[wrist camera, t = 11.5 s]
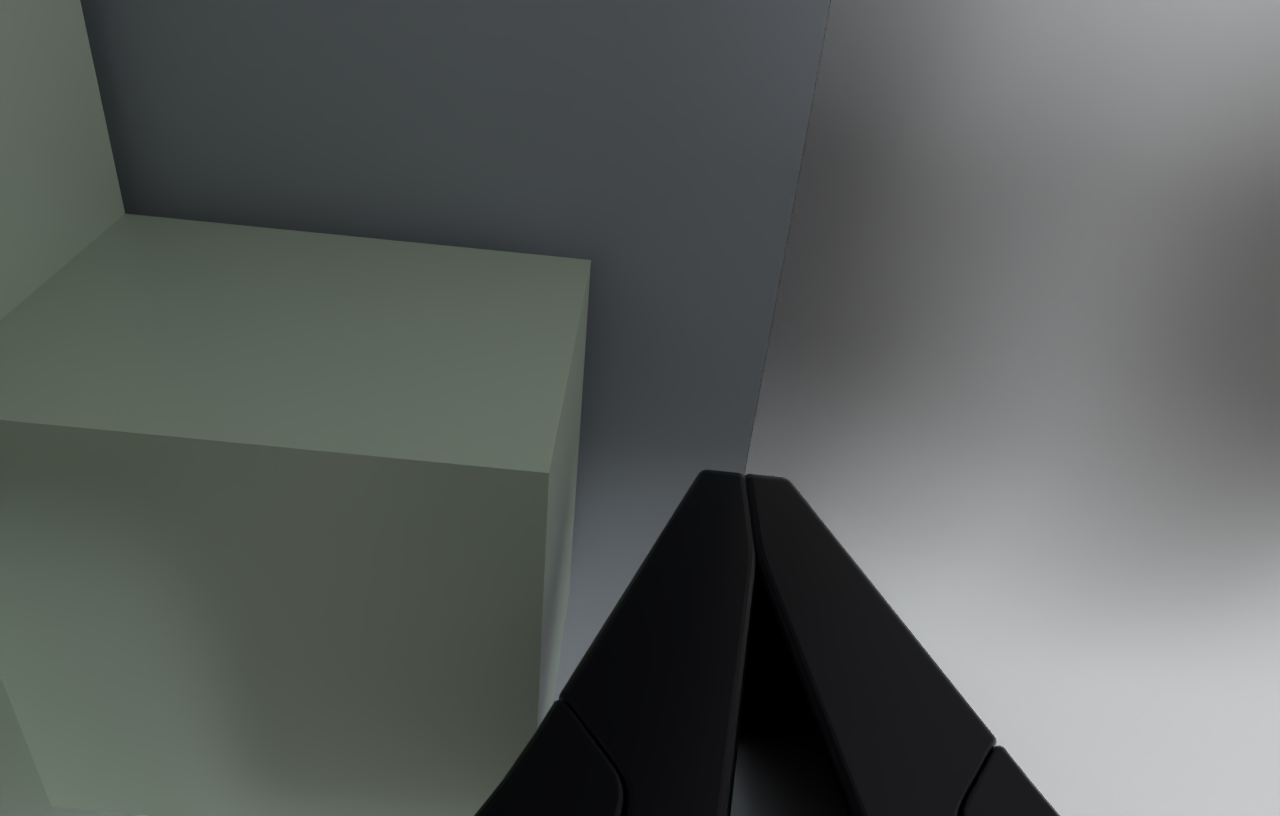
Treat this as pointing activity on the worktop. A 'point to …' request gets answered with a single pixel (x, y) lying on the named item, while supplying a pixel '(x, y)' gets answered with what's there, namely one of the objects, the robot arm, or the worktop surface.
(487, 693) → the housing
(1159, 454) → the worktop surface
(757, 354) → the board
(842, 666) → the robot arm
